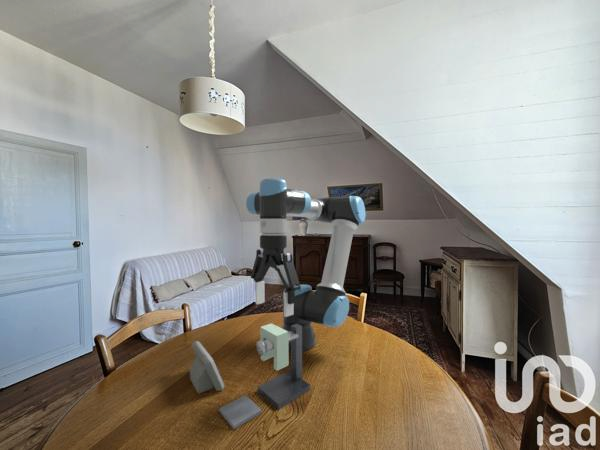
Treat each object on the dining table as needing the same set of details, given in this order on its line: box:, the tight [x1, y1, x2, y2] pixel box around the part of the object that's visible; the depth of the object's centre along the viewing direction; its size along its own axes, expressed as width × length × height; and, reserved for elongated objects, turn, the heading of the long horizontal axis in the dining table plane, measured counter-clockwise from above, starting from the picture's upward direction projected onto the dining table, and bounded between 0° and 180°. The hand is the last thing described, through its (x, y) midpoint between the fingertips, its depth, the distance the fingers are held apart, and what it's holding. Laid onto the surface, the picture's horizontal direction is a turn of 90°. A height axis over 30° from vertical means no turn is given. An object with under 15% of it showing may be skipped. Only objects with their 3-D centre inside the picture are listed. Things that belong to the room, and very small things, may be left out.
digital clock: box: [189, 340, 225, 394], centre depth 83 cm, size 16×9×11 cm, turn 25°
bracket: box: [259, 323, 290, 372], centre depth 75 cm, size 8×4×10 cm, turn 42°
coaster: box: [218, 394, 262, 430], centre depth 70 cm, size 8×8×1 cm
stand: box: [255, 324, 311, 410], centre depth 77 cm, size 10×14×18 cm
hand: (273, 309), depth 75 cm, fingers open, 13 cm apart
